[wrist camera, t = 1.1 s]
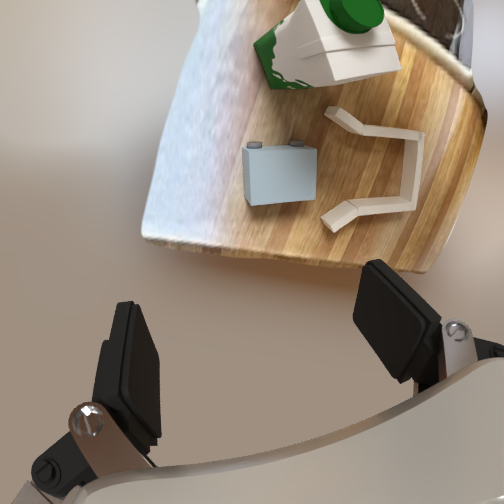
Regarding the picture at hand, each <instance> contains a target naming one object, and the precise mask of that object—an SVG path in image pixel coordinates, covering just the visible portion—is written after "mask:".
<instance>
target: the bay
mask: <svg viewBox="0 0 504 504" xmlns="http://www.w3.org/2000/svg"><path fill="white" fill-rule="evenodd" d="M323 115H325V116H326V117H328V118H329V119H331V120H332V121H334V122H335V123H337V124H338V125H340V126H341V127H342V128H344V129H345V130H347V131H348V132H350V133H354V134H359V135H364V136H378V137H389V138H399V139H405V145H404V158H403V168H402V177H401V186H400V194H399V196H393V197H376V198H361V199H347V201H345V200H344V201H343V202H342V203H340V204H339V205H337V206H336V207H334V208H333V209H331V210H330V211H328V212H327V213H325V214H324V215H323V216H321V219H322V221H323V223H324V224H325V225H326V226H327V227H328V228H329V229H330V230H331V231H332V232H333V233H334V232H336V231H337V230H339V229H340V228H342V227H343V226H344V225H346V224H347V223H349V222H350V221H352V220H353V219H354V218H356V217H357V216H361V215H371V214H381V213H391V212H402V211H412V210H416V205H417V199H418V192H419V185H420V178H421V170H422V161H423V150H424V137H425V133H422V132H418V131H414V130H409V129H402V128H394V127H386V126H377V125H367V124H362V123H361V122H360V121H358V120H357V119H356V118H354V117H353V116H352V115H350V114H349V113H348V112H346V111H345V110H344V109H342V108H341V107H333V106H328V107H327V109H326V111H325V113H324V114H323Z"/></svg>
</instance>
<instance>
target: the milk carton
mask: <svg viewBox="0 0 504 504" xmlns="http://www.w3.org/2000/svg"><path fill="white" fill-rule="evenodd" d="M395 44H396V43H395V40H394V37H393V34H392V33H391V30H390V27H389V25H388V22H387V19H386V17H385V14H384V9H383V6H382V4H381V2H380V1H379V0H300V2H299V3H298V5H297V7H296V9H295V11H294V12H292V13H291V14H290V15H288V16H287V17H286V18H285V19H283V20H282V21H281V22H280V23H278V24H277V25H276V26H275V27H274V28H272V29H271V30H270V31H269V32H267V33H266V34H265V35H263V36H262V37H261V38H260V39H259V40H257V41H256V42H255V43H254V46H255V49H256V51H257V54H258V56H259V59H260V61H261V64H262V66H263V69H264V72H265V74H266V77H267V79H268V82H269V85H270V88H271V89H305V88H314V87H323V86H333V85H340V84H344V83H349V82H353V81H358V80H363V79H367V78H370V77H374V76H378V75H382V74H386V73H390V72H395V71H400V70H402V69H401V65H400V61H399V58H398V54H397V51H396V48H395Z"/></svg>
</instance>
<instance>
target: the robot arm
mask: <svg viewBox="0 0 504 504" xmlns="http://www.w3.org/2000/svg"><path fill="white" fill-rule="evenodd" d="M441 318H442V317H441V316H440V315H439V314H438V313H437V312H436V311H435V310H434V309H433V308H432V307H431V306H430V305H429V304H428V303H427V302H426V301H425V300H424V299H423V298H422V297H421V296H420V295H419V294H418V293H416V291H414V290H413V289H412V288H411V287H410V286H409V285H408V284H407V283H406V282H405V281H404V280H403V279H402V278H401V277H400V276H399V275H398V274H397V273H395V272H394V271H393V270H392V269H391V268H390V267H389V266H388V265H387V264H386V263H385V262H383V261H382V260H381V259H376V260H371V261H368V262H366V264H365V266H363V269H362V274H361V279H360V284H359V289H358V294H357V298H356V303H355V307H354V312H353V321H354V323H355V324H356V326H357V327H358V329H359V330H360V332H361V333H362V334H363V336H364V337H365V338H366V340H367V341H368V343H369V344H370V346H371V347H372V348H373V350H374V351H375V353H376V354H377V355H378V357H379V358H380V360H381V361H382V363H383V364H384V365H385V367H386V369H387V370H388V371H389V373H390V374H391V376H392V377H393V378H394V379H397V380H398V382H399V383H400V384H401V383H403V382H405V381H407V380H409V379H410V378H411V377H412V378H413V380H414V388H413V397H412V398H410V399H408V400H406V401H404V402H402V403H400V404H398V405H396V406H394V407H392V408H390V409H388V410H386V411H383V412H381V413H379V414H377V415H375V416H372V417H370V418H368V419H365V420H363V421H360V422H358V423H356V424H353V425H351V426H348V427H345V428H343V429H340V430H338V431H334V432H332V433H329V434H326V435H323V436H320V437H317V438H314V439H310V440H308V441H304V442H301V443H297V444H294V445H290V446H287V447H283V448H279V449H275V450H271V451H266V452H262V453H257V454H253V455H248V456H242V457H237V458H231V459H225V460H218V461H212V462H205V463H197V464H189V465H177V466H166V467H158V466H157V465H156V464H155V462H154V461H153V460H152V459H151V458H150V457H149V456H148V455H147V454H148V453H149V452H150V446H157V438H161V435H162V433H161V415H160V380H159V379H160V378H159V377H160V373H159V372H160V370H159V368H160V362H159V356H158V352H157V350H156V348H155V345H154V343H153V340H152V338H151V335H150V332H149V330H148V327H147V325H146V322H145V319H144V316H143V314H142V311H141V308H140V306H139V305H138V304H136V305H135V304H134V302H133V301H128V302H120V303H118V304H117V306H116V311H115V315H114V320H113V324H112V328H111V333H110V338H109V340H104V341H103V343H102V347H101V351H100V356H99V361H98V366H97V372H96V377H95V383H94V389H93V396H92V402H84V403H82V404H80V405H78V406H77V407H76V408H74V409H73V411H72V412H71V414H70V417H69V420H68V426H69V429H70V431H69V432H68V433H67V434H65V435H64V436H63V437H62V438H61V439H59V440H58V441H57V442H56V443H55V444H53V445H52V446H51V447H50V448H49V449H48V450H46V451H45V452H44V453H43V454H42V455H40V456H39V457H38V458H37V459H36V460H35V461H34V463H33V465H32V470H31V474H32V481H31V482H30V481H28V480H27V482H26V483H25V484H24V486H23V487H22V489H21V490H20V491H19V493H18V495H17V496H16V497H15V499H14V500H13V502H12V503H11V504H504V346H503V345H501V344H498V343H494V342H490V341H486V340H482V339H478V338H475V337H473V335H472V332H471V329H470V328H469V327H468V325H466V324H465V323H464V322H462V321H460V320H457V319H448V320H446V321H445V322H444V323H443V325H441V323H440V320H441Z"/></svg>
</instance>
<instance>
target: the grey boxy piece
mask: <svg viewBox="0 0 504 504" xmlns="http://www.w3.org/2000/svg"><path fill="white" fill-rule="evenodd" d="M242 159H243V179H244V196H245V198H246V199H247V201H248V202H249V204H250V205H251V206H255V205H264V204H273V203H283V202H294V201H304V200H316V176H317V149H315V148H312V147H309V146H306V145H304V141H302V140H291V141H290V145H277V146H262V142H248V143H247V147H243V148H242Z"/></svg>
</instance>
